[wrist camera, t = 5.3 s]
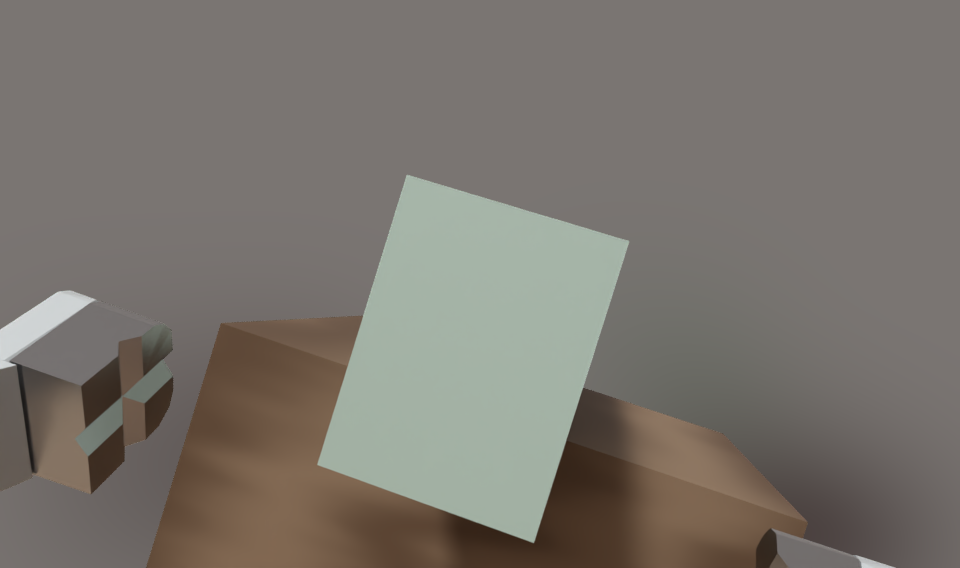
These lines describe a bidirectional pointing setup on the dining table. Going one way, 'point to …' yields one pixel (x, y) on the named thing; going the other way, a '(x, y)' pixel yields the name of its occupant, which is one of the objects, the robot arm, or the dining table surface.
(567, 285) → the sage block
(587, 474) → the wood grain block
